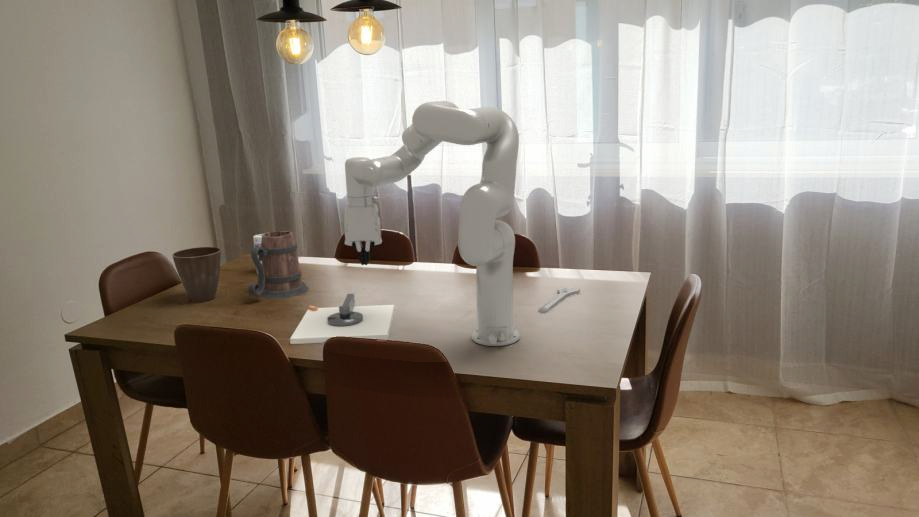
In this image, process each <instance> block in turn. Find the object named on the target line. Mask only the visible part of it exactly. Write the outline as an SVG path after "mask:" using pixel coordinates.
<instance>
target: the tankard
mask: <svg viewBox="0 0 919 517" xmlns="http://www.w3.org/2000/svg"><path fill="white" fill-rule="evenodd" d="M261 234H262V240H261V246H260V247H254V246H253V248H252V249H251V253H250V257H251V260H252V262H253V264H254V266H255V267H256V272H257V271H258V274H257V277H258V279H257V280H258V281H257V283H256V282H250V283H249V284H248V287H247V289H248V292H249V294H250V295H252V296H257V297H258V296H259V298H263V299H270V300H271V299H273V300H277V299H280V300H281V299H287V298H288V299H289V298H294V297H297V296H301V295H303V294H306V293H307V292H308V291H309V289H310V288H309V287H308V286H307V285H306V283H305V282H303V281H302V271H301V269H300V261H299V256H298V255H299V254H298V244H297V242H296V240H295V239H296V238H295V235H294V233H293V231H289V230H281V231H280V230H279V231H268V232H264V233H261ZM258 255H259V258H258ZM260 261H262V264H261V262H260Z"/></svg>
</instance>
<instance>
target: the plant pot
mask: <svg viewBox="0 0 919 517" xmlns="http://www.w3.org/2000/svg"><path fill="white" fill-rule="evenodd" d="M221 252H222V250H221V248H220V247H216V246H202V247H201V246H200V247H192V248H191V247H190V248H186V249H181V250H178V251H175V252H173V253H172V255H171V256H172V259H173V263H174V266H175V269H176V272H177V275H178V277H179V280H180V282H181V284H182V285H183V288H184V290H185V292H186V293H187V295H188V297H189V299H190V301H191V302H195V303H200V302H201V303H202V302H207V301H210V300H211V301H212V300H214V299H215V297H216V295H217V294H216V293H217V290H218V286H219V279H220V274H221V273H220V271H221V259H222V258H221Z"/></svg>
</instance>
